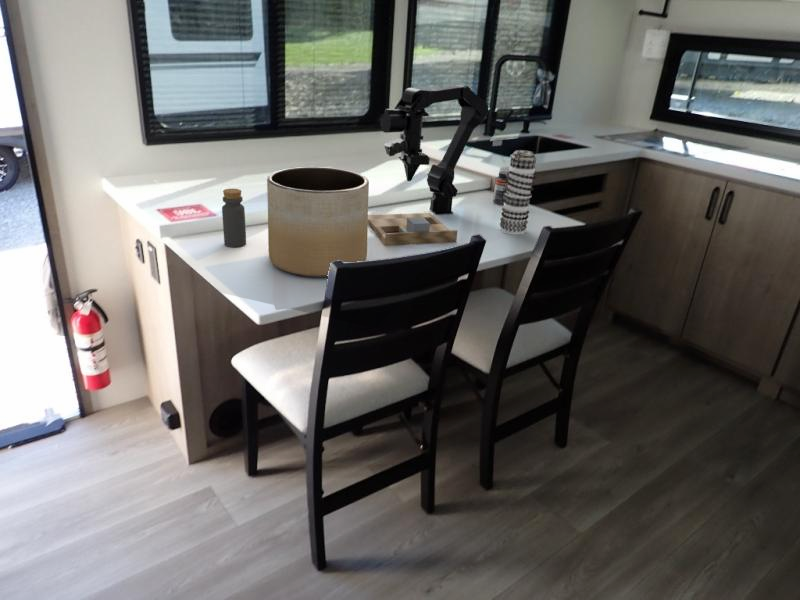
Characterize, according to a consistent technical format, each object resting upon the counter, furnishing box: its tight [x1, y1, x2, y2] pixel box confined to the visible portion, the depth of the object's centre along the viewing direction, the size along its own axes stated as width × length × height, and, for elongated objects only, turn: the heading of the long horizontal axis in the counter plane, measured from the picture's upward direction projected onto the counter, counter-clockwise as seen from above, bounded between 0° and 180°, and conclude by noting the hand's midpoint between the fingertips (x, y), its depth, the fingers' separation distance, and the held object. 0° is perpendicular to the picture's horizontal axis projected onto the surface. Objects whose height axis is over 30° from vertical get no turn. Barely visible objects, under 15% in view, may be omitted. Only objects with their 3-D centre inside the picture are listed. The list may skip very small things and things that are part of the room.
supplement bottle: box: [492, 170, 509, 205], centre depth 215 cm, size 6×6×11 cm
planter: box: [266, 166, 370, 278], centre depth 150 cm, size 25×25×22 cm
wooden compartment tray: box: [368, 212, 458, 247], centre depth 180 cm, size 22×23×4 cm
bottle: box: [221, 188, 247, 248], centre depth 159 cm, size 6×6×15 cm
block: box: [406, 217, 430, 232], centre depth 173 cm, size 5×6×4 cm
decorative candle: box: [499, 149, 538, 235], centre depth 183 cm, size 9×9×25 cm
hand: (408, 180), depth 189 cm, fingers closed
